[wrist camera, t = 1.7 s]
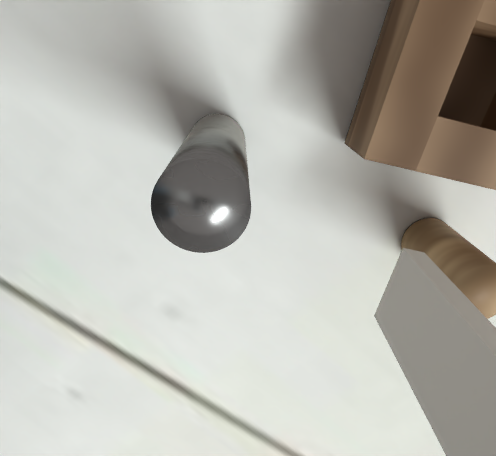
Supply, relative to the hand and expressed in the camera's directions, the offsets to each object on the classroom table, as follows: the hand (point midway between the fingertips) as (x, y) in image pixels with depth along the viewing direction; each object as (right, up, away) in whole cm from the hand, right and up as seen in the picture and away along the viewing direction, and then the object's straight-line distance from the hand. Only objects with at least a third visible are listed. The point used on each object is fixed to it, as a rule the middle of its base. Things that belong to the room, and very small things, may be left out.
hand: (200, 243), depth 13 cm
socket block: (+16, +11, +15) cm, 24 cm away
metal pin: (-1, +7, +16) cm, 17 cm away
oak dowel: (+16, -1, +20) cm, 25 cm away
